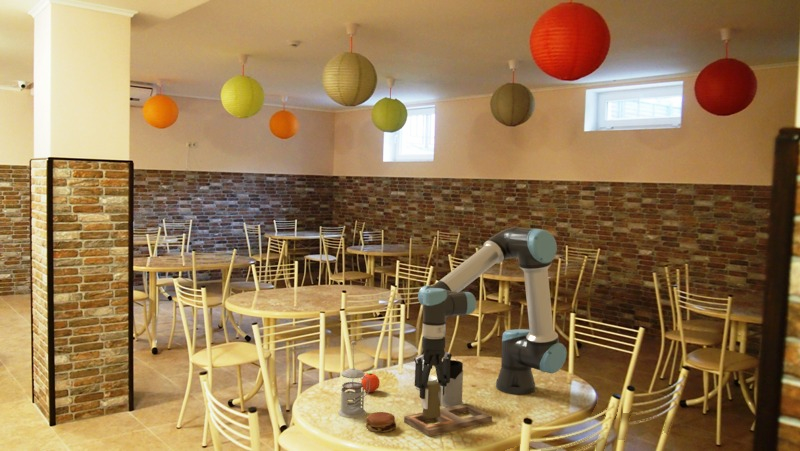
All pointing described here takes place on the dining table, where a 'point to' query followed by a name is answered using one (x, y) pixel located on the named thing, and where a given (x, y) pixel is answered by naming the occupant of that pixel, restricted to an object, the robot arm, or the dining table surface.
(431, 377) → the ramekin
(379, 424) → the burger
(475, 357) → the dining table surface
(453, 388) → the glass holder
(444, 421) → the socket rail
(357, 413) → the french press
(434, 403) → the cork
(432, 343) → the robot arm
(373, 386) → the tomato
